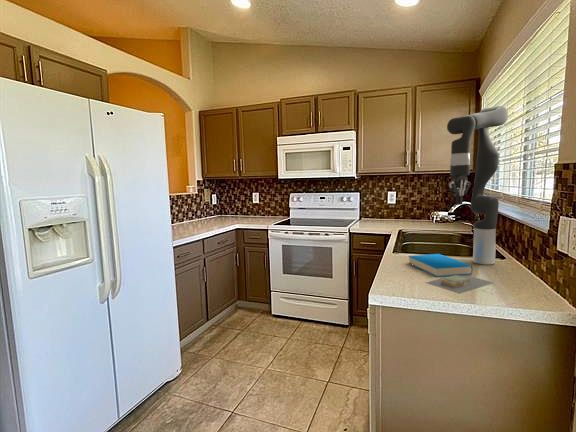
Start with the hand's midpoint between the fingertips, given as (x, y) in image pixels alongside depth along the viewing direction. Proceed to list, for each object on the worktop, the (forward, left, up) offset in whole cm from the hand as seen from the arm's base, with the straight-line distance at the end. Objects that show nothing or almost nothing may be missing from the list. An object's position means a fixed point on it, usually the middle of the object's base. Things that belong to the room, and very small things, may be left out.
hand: (458, 204), depth 143 cm
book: (+1, -9, -31) cm, 32 cm away
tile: (+10, +10, -29) cm, 33 cm away
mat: (+12, +10, -31) cm, 35 cm away
